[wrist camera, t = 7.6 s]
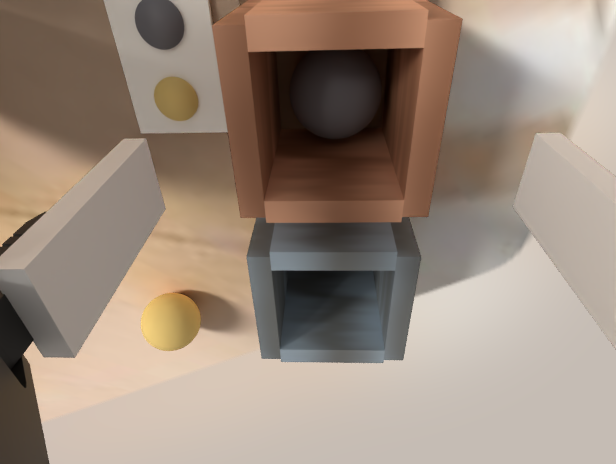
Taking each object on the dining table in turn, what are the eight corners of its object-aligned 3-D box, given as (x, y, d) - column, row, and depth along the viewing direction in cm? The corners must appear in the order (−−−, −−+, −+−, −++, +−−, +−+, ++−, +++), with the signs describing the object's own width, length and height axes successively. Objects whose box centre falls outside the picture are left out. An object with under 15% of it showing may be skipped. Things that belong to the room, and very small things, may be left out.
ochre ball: (160, 319, 39) (140, 362, 35) (146, 281, 36) (123, 323, 32) (210, 319, 39) (197, 363, 35) (201, 281, 36) (185, 324, 32)
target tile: (143, 131, 28) (139, 134, 27) (100, -22, 23) (95, -22, 22) (228, 130, 27) (226, 133, 27) (205, -26, 22) (203, -25, 22)
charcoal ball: (290, 123, 25) (293, 156, 21) (285, 36, 22) (288, 54, 18) (368, 119, 25) (387, 151, 21) (374, 32, 23) (396, 49, 18)
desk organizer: (271, 264, 34) (254, 369, 26) (241, -27, 22) (188, -10, 14) (389, 264, 34) (410, 371, 25) (423, -33, 22) (487, -20, 13)
